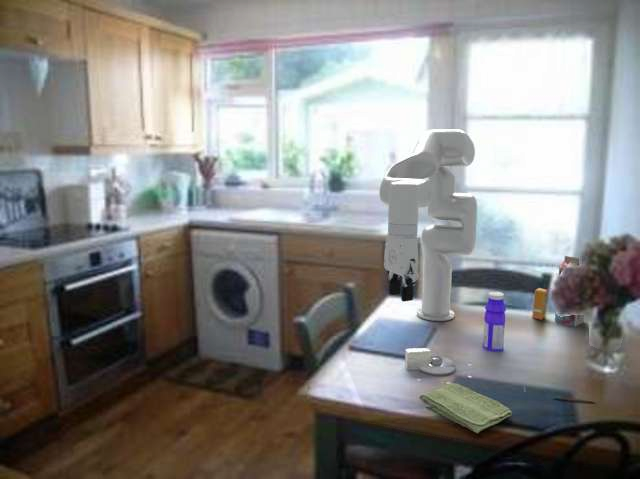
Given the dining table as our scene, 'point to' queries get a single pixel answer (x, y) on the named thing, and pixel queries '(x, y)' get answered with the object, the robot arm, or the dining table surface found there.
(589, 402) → the fork
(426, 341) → the dining table surface
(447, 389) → the washcloth
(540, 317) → the supplement box
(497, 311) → the bottle
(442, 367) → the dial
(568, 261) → the juice carton
